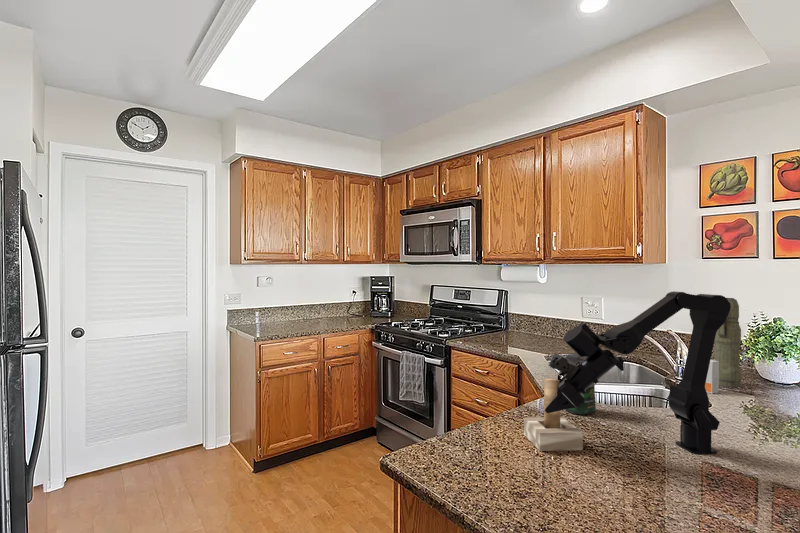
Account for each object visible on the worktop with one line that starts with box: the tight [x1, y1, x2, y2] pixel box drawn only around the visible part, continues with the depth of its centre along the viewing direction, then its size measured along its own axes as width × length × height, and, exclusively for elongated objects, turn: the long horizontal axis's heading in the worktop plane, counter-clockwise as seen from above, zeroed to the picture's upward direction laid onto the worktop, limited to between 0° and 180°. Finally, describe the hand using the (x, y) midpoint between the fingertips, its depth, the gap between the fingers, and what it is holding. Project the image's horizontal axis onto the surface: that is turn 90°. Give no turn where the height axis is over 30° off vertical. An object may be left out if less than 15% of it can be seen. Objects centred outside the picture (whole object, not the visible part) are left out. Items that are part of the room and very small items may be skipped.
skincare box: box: [705, 359, 720, 395], centre depth 161 cm, size 6×4×12 cm
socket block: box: [523, 416, 584, 452], centre depth 112 cm, size 11×11×4 cm
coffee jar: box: [565, 352, 596, 415], centre depth 137 cm, size 10×8×19 cm
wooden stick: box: [543, 378, 561, 429], centre depth 112 cm, size 4×4×16 cm
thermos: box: [714, 297, 742, 389], centre depth 171 cm, size 9×12×35 cm
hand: (546, 406), depth 112 cm, fingers open, 9 cm apart
